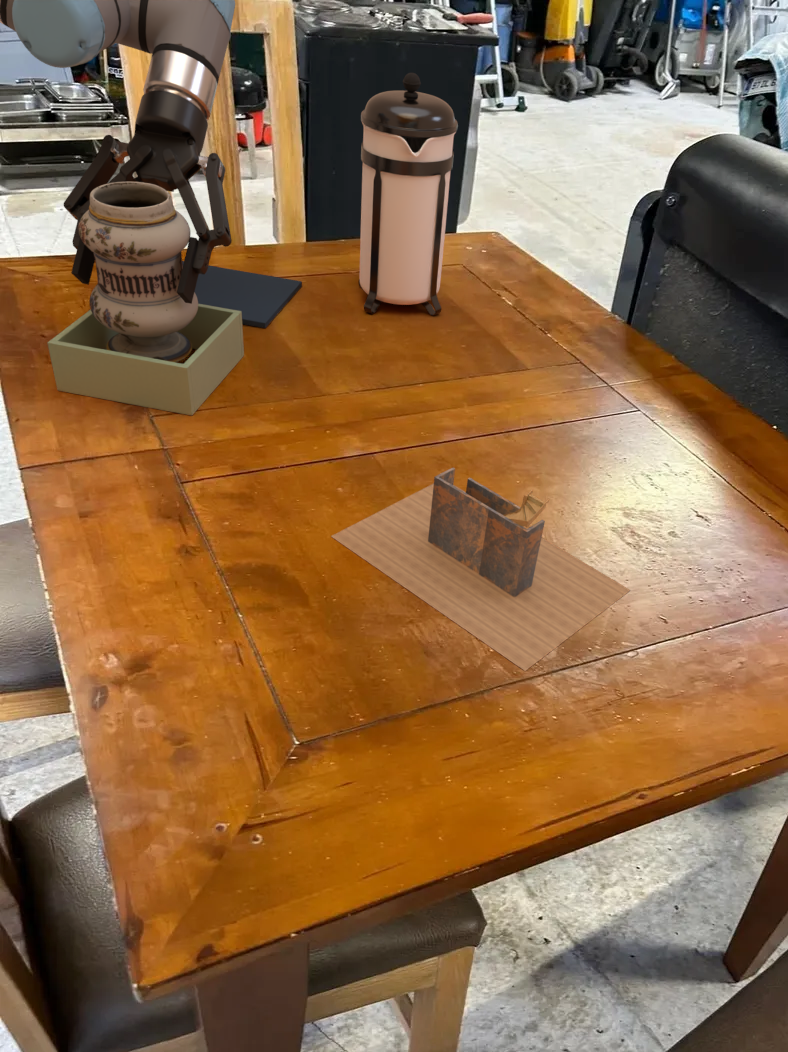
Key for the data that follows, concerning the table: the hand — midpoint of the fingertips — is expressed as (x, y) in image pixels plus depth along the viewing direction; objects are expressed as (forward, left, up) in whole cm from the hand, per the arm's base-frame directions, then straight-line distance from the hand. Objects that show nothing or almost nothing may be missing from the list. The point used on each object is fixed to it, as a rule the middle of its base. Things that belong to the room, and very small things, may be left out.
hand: (131, 288), depth 100 cm
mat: (-2, +28, -11) cm, 30 cm away
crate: (0, +3, -11) cm, 12 cm away
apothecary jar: (0, +3, -9) cm, 9 cm away
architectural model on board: (+45, -22, -12) cm, 52 cm away
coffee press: (+22, +38, -12) cm, 45 cm away
